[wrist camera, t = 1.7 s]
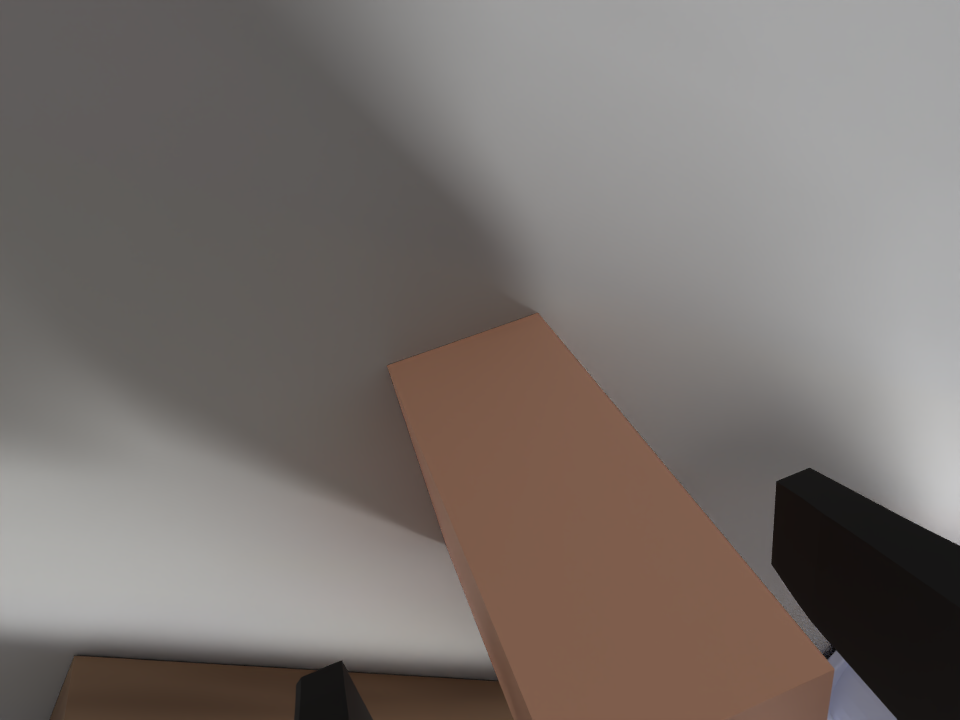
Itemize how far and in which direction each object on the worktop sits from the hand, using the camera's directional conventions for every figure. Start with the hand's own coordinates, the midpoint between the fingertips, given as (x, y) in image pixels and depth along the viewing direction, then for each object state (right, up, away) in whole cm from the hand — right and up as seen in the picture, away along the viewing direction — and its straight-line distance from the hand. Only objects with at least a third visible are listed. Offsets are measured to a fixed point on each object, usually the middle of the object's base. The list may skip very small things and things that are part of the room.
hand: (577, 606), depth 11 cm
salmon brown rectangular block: (-1, +2, +4) cm, 5 cm away
